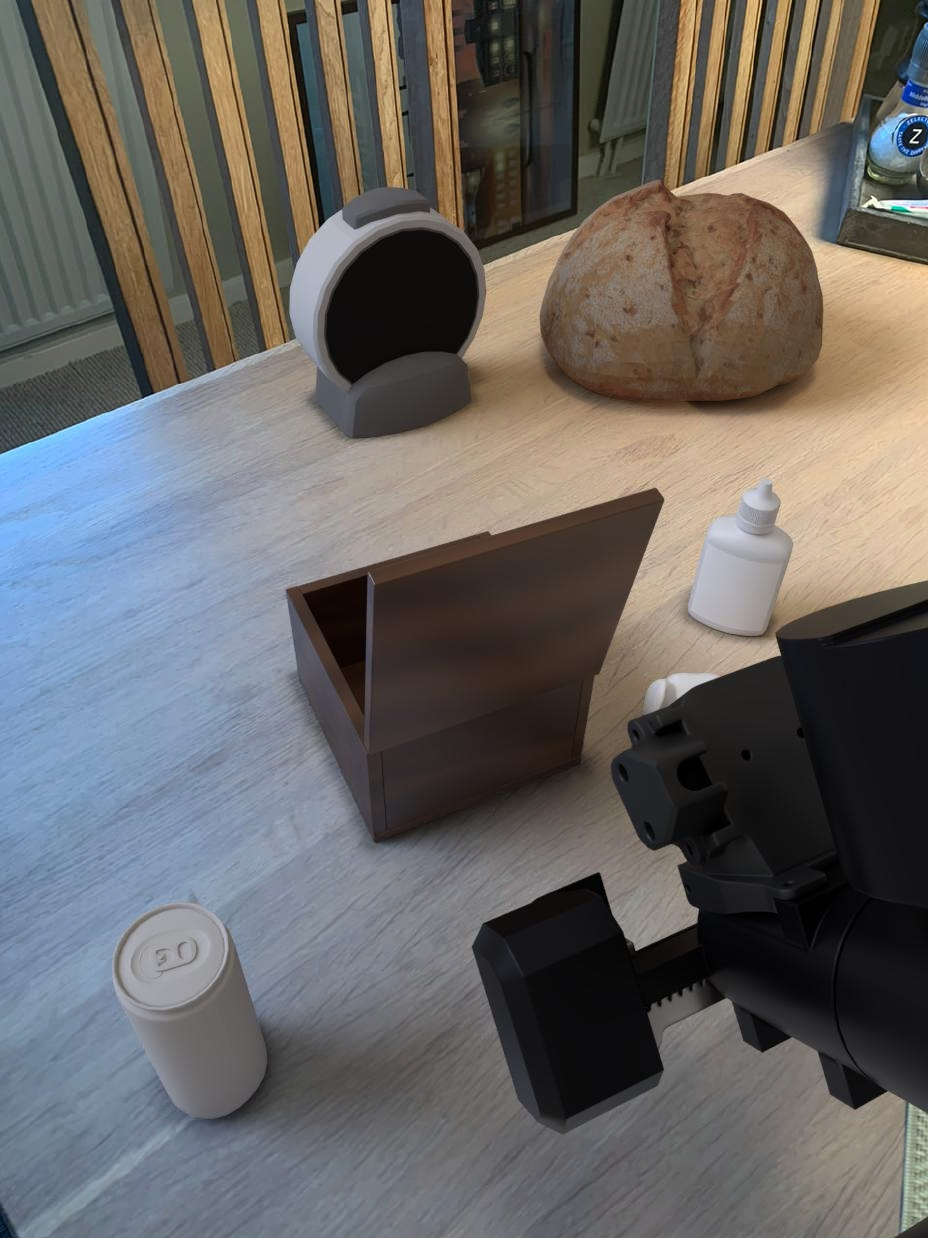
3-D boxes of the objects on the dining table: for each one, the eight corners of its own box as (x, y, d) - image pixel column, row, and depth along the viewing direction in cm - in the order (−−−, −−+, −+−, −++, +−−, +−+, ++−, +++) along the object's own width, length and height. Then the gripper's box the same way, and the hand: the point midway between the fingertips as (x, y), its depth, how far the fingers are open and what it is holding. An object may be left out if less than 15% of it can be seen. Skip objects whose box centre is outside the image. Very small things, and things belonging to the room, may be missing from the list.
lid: (366, 570, 39) (374, 585, 39) (656, 486, 44) (665, 499, 43) (363, 743, 51) (369, 756, 50) (593, 663, 55) (600, 674, 55)
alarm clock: (336, 453, 83) (318, 241, 71) (287, 395, 90) (262, 190, 77) (499, 401, 89) (509, 198, 77) (442, 350, 96) (443, 154, 83)
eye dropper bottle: (736, 653, 68) (779, 517, 59) (676, 607, 71) (709, 471, 62) (778, 626, 70) (825, 490, 61) (718, 583, 73) (755, 447, 64)
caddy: (299, 680, 65) (285, 589, 60) (484, 621, 70) (488, 530, 64) (374, 843, 57) (366, 754, 51) (580, 764, 61) (595, 674, 55)
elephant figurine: (729, 705, 65) (749, 642, 60) (755, 808, 59) (779, 746, 55) (625, 704, 65) (639, 640, 60) (641, 807, 59) (657, 745, 55)
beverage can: (159, 1040, 49) (101, 920, 40) (257, 1007, 50) (220, 883, 41) (175, 1139, 46) (115, 1031, 37) (279, 1101, 47) (243, 988, 38)
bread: (796, 305, 103) (837, 156, 93) (831, 432, 87) (885, 268, 76) (543, 288, 105) (555, 140, 94) (530, 410, 89) (542, 246, 78)
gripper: (1098, 587, 28) (769, 615, 43) (516, 814, 23) (367, 756, 37) (1197, 954, 29) (838, 857, 44) (653, 1269, 23) (452, 1034, 38)
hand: (638, 868), depth 41 cm, fingers open, 7 cm apart
